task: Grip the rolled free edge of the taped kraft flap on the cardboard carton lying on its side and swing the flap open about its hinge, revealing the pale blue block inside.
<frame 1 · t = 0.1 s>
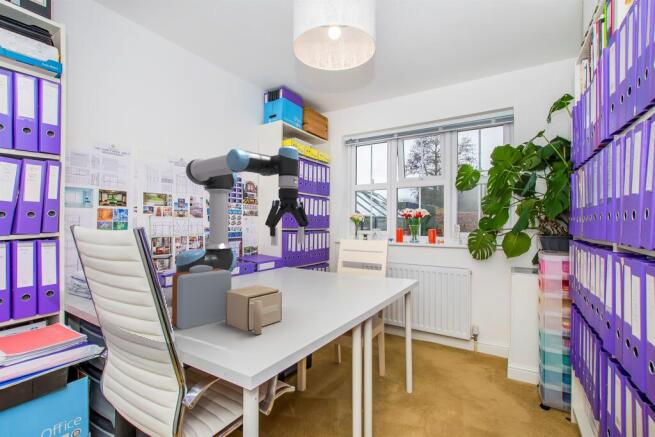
hand: (288, 244, 118), 28 cm above the table, fingers open, 13 cm apart
grey rounded slab: (202, 323, 113), on the table
contents block: (252, 322, 111), point 1 cm above the table, touching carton
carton: (252, 323, 112), on the table
flap: (269, 311, 106), point 6 cm above the table, hinge at 0.0°
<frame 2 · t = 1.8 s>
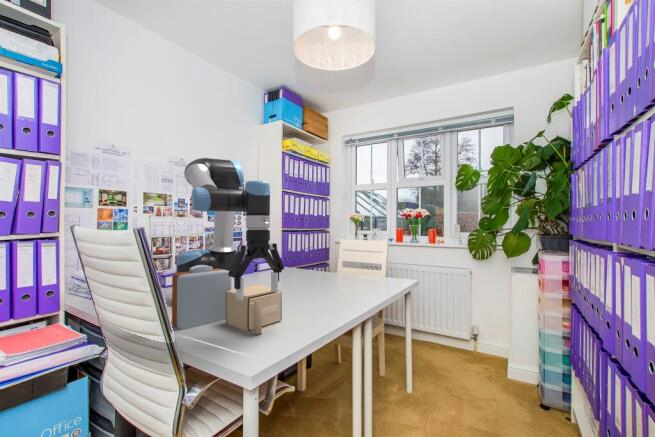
hand: (258, 295, 100), 13 cm above the table, fingers open, 13 cm apart
nothing on the table moved.
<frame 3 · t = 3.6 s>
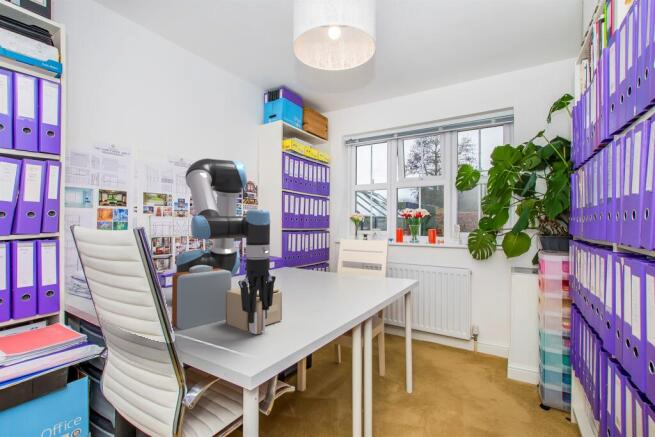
hand: (257, 331, 100), 2 cm above the table, fingers closed on flap, 3 cm apart
flap: (269, 311, 106), point 6 cm above the table, hinge at 0.0°, touching gripper
everything else where it was.
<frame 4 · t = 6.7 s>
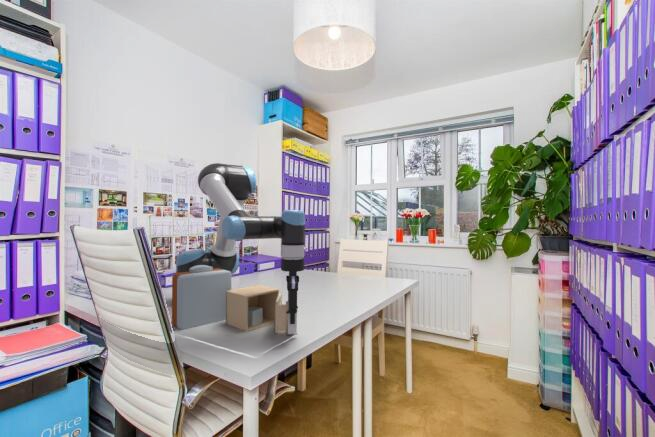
hand: (291, 331, 100), 2 cm above the table, fingers closed on flap, 3 cm apart
flap: (286, 311, 106), point 6 cm above the table, hinge at 43.2°, touching gripper
everything else where it was.
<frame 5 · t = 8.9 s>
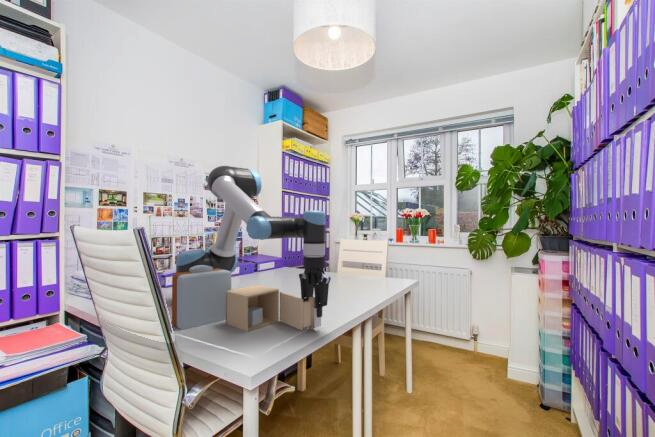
hand: (314, 325, 106), 2 cm above the table, fingers closed on flap, 3 cm apart
flap: (297, 309, 109), point 6 cm above the table, hinge at 79.5°, touching gripper
everything else where it was.
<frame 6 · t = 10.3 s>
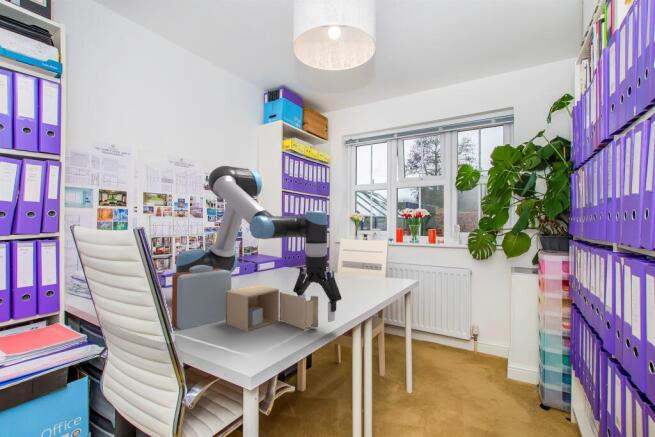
hand: (316, 317, 108), 4 cm above the table, fingers open, 13 cm apart
flap: (298, 308, 110), point 6 cm above the table, hinge at 84.6°
everything else where it was.
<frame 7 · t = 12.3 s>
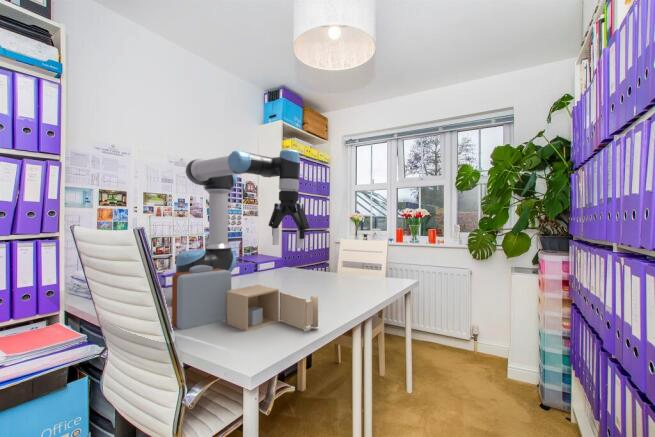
hand: (287, 246, 120), 27 cm above the table, fingers open, 13 cm apart
nothing on the table moved.
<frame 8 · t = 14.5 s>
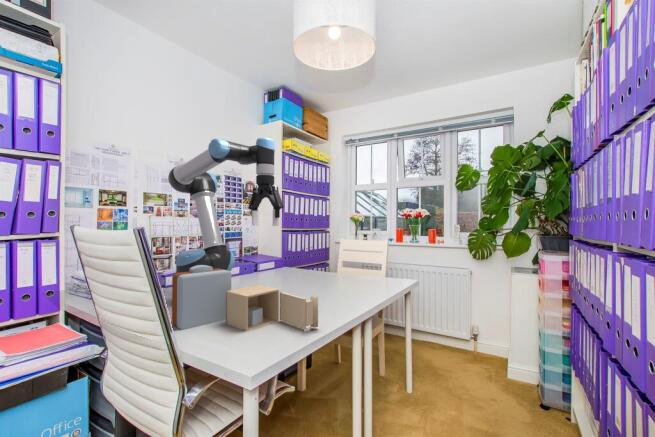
hand: (265, 225, 131), 35 cm above the table, fingers open, 13 cm apart
nothing on the table moved.
at the end: flap at +85° (first picture: +0°); the gripper is holding nothing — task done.
